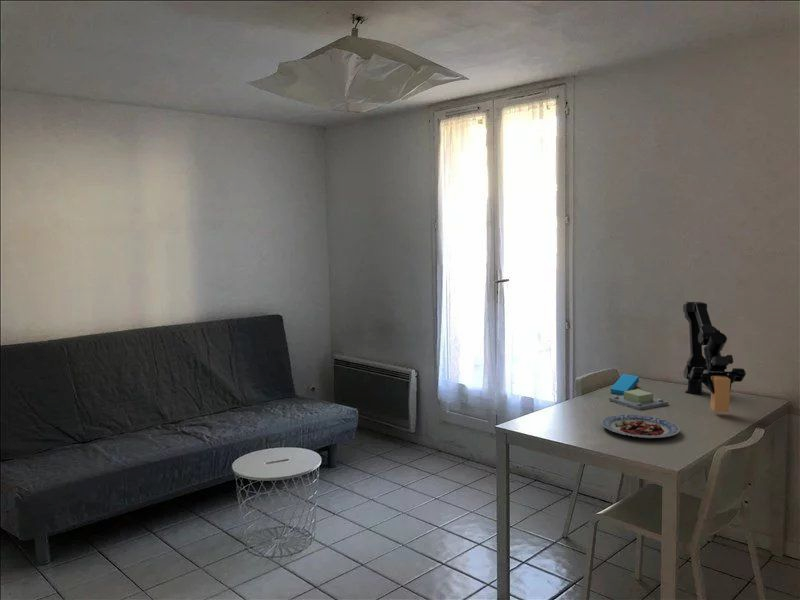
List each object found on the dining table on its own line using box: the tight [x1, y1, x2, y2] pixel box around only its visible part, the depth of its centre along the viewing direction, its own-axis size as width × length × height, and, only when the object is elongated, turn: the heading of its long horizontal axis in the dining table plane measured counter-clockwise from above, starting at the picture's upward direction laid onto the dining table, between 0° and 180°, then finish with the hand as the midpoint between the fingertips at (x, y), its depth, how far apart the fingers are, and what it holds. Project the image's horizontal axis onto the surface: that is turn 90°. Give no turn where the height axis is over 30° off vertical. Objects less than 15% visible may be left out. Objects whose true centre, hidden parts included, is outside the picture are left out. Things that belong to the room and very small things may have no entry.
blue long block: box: [610, 373, 640, 396], centre depth 282 cm, size 7×7×18 cm
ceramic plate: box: [601, 414, 681, 439], centre depth 227 cm, size 26×26×3 cm
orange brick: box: [709, 376, 731, 413], centre depth 243 cm, size 5×5×12 cm
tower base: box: [608, 388, 669, 411], centre depth 262 cm, size 16×16×4 cm
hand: (721, 393), depth 242 cm, fingers closed on orange brick, 5 cm apart
